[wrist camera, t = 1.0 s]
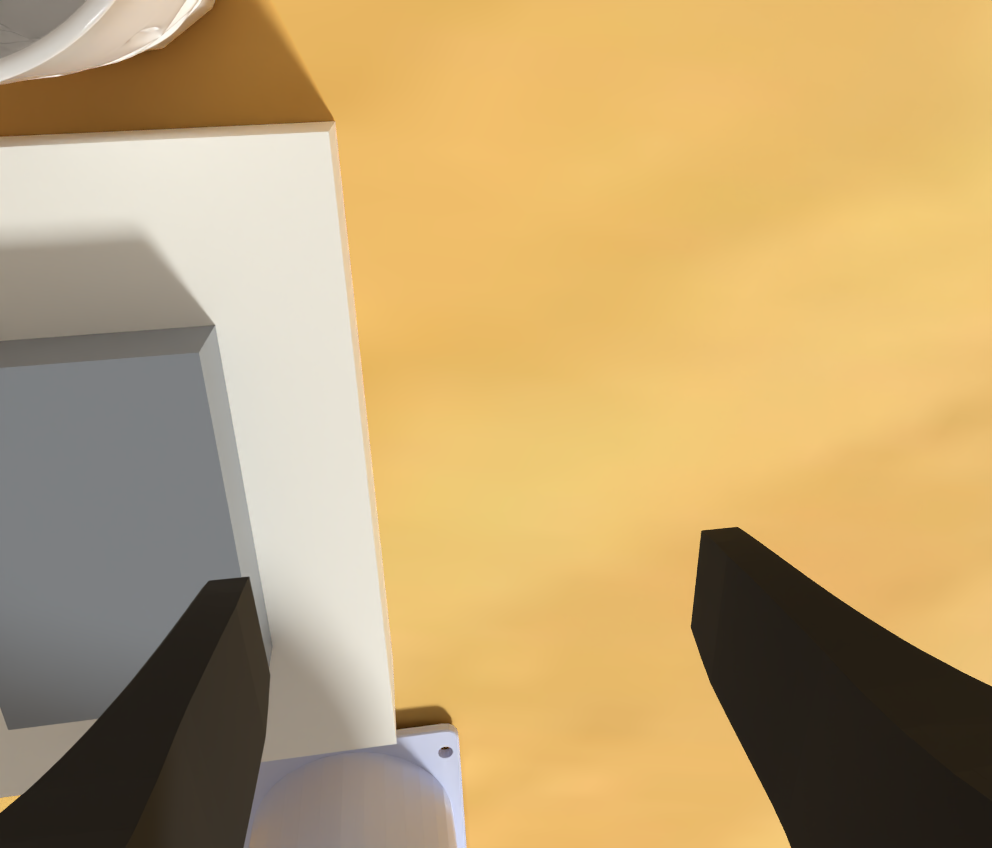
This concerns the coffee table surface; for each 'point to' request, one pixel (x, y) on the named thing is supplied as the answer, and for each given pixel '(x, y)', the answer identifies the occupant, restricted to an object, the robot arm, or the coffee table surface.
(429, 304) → the coffee table surface
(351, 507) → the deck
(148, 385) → the gray rectangular block
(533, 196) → the coffee table surface
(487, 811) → the coffee table surface
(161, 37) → the white cup
